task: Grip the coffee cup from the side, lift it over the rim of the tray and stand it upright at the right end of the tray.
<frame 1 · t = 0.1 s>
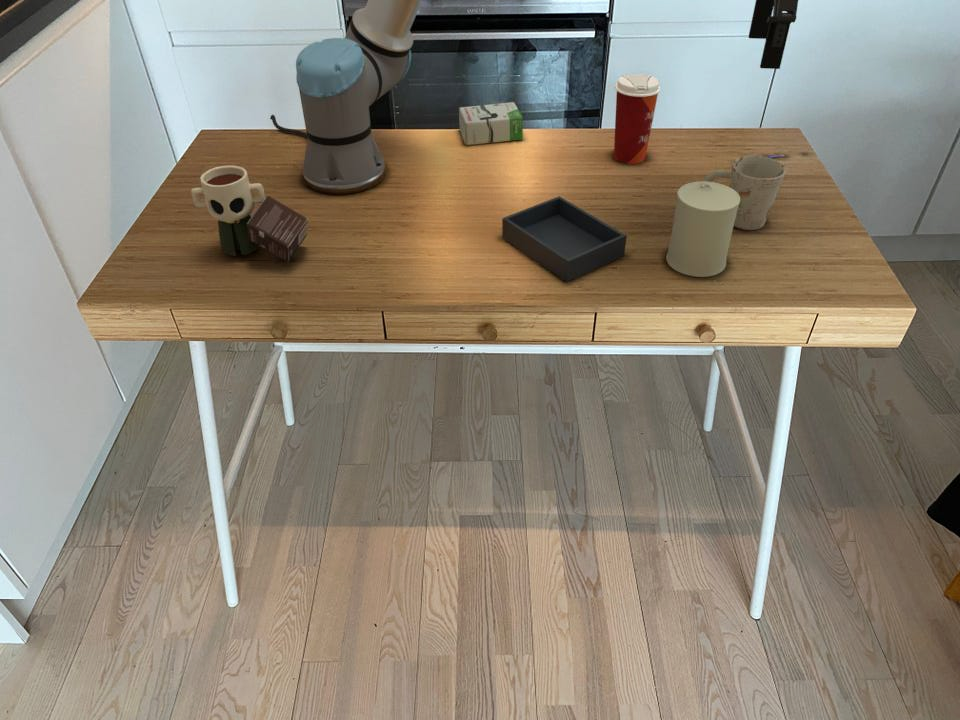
hand: (763, 52, 119), 26 cm above the table, tool pointing down, fingers open, 13 cm apart
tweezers: (777, 152, 149), point 1 cm above the table
ink box: (519, 120, 158), point 3 cm above the table
coffee cup: (629, 157, 151), on the table
box: (299, 241, 122), point 3 cm above the table, touching character mug
can: (695, 262, 122), on the table
character mug: (241, 249, 126), on the table, touching box
mug: (733, 220, 132), on the table
tray: (562, 247, 126), on the table
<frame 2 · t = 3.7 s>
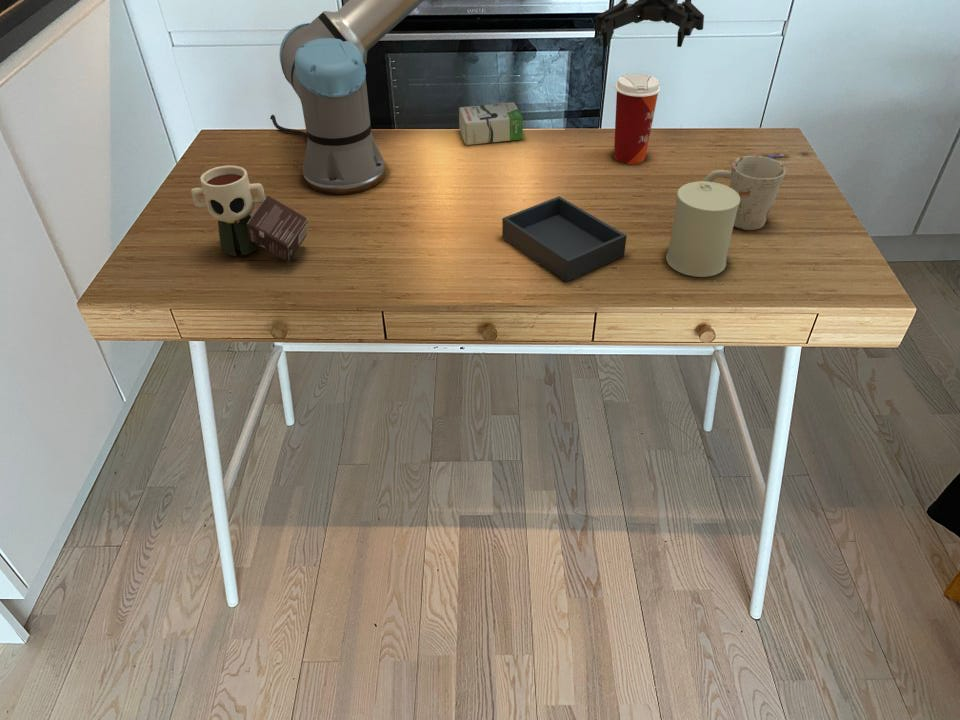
hand: (641, 39, 142), 20 cm above the table, tool horizontal, fingers open, 13 cm apart
nothing on the table moved.
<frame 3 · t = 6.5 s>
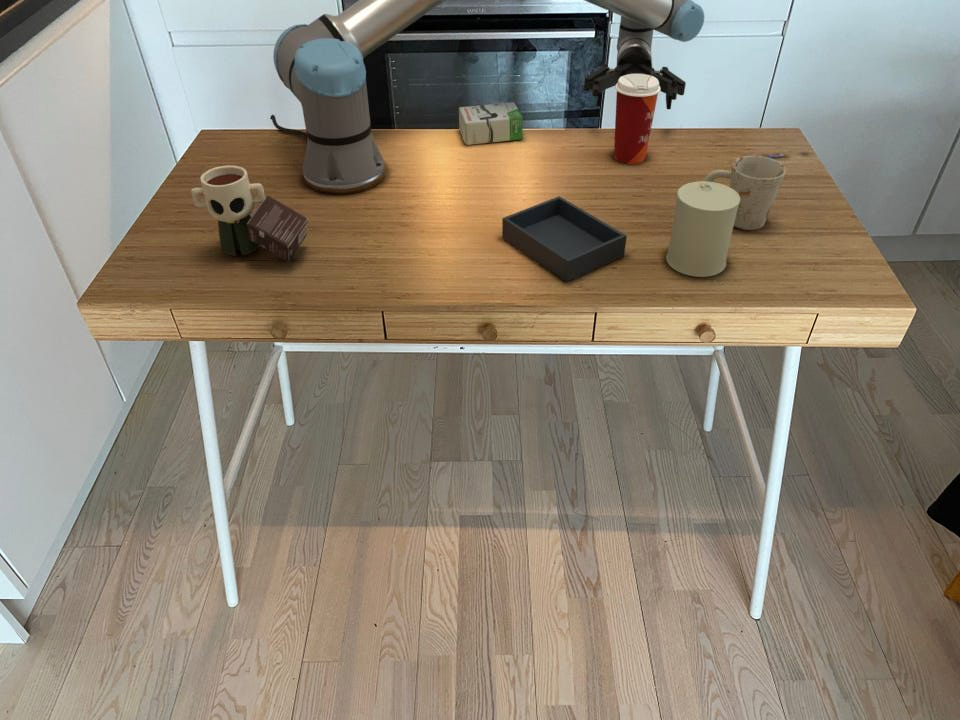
hand: (634, 101, 151), 8 cm above the table, tool horizontal, fingers open, 13 cm apart
nothing on the table moved.
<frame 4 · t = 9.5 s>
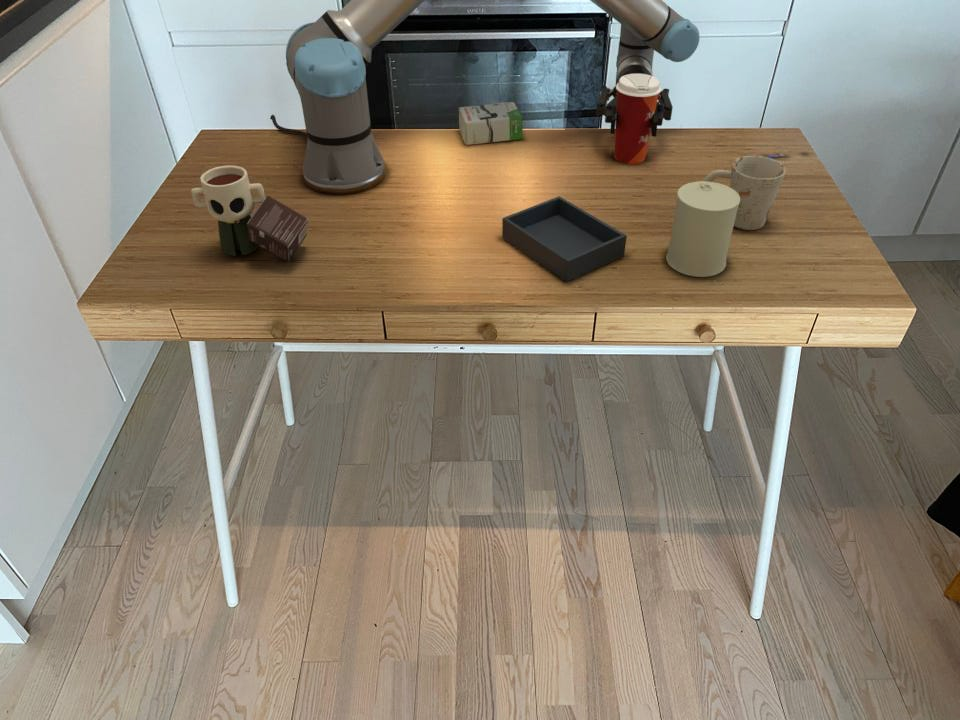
hand: (633, 128, 142), 8 cm above the table, tool horizontal, fingers closed on coffee cup, 7 cm apart
coffee cup: (629, 157, 151), on the table, touching gripper
everything else where it was.
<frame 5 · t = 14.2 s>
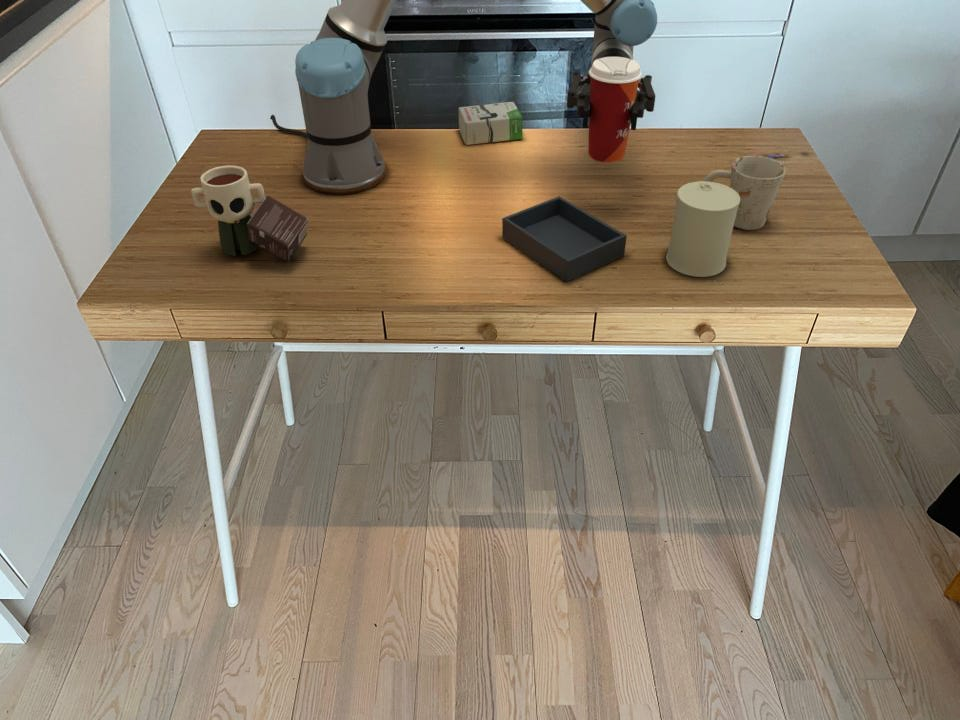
hand: (609, 120, 120), 18 cm above the table, tool horizontal, fingers closed on coffee cup, 7 cm apart
coffee cup: (605, 155, 130), point 10 cm above the table, touching gripper
everything else where it was.
when the fingers open (9 cm above the table, at t = 19.2 s): coffee cup stays where it is, resting on tray.
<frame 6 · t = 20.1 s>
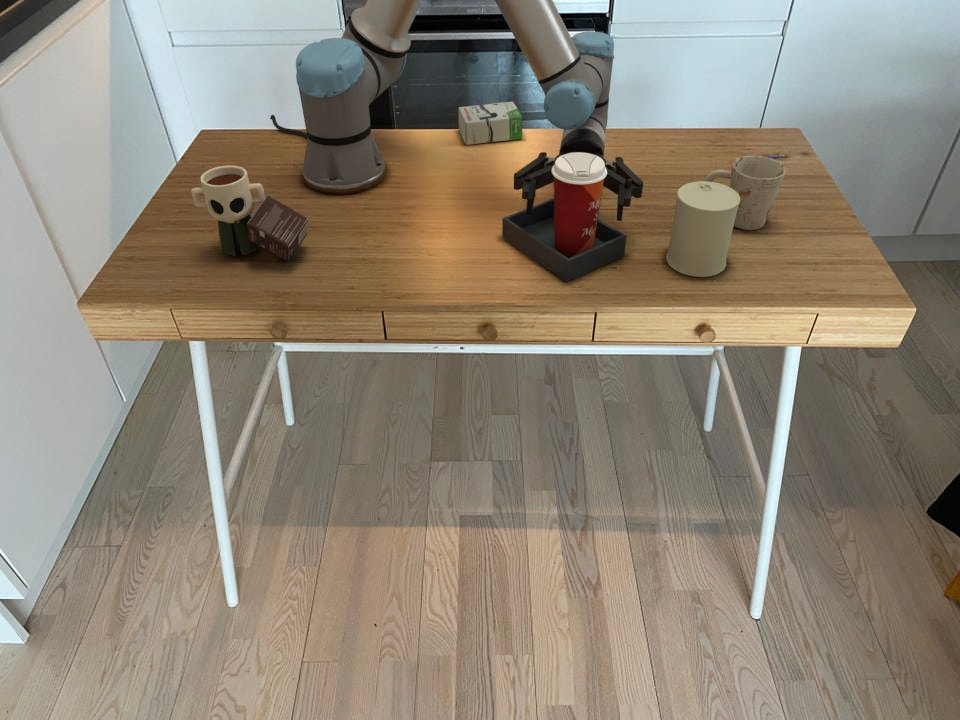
hand: (574, 210, 116), 10 cm above the table, tool horizontal, fingers open, 13 cm apart
coffee cup: (573, 250, 124), point 1 cm above the table, touching tray
everything else where it was.
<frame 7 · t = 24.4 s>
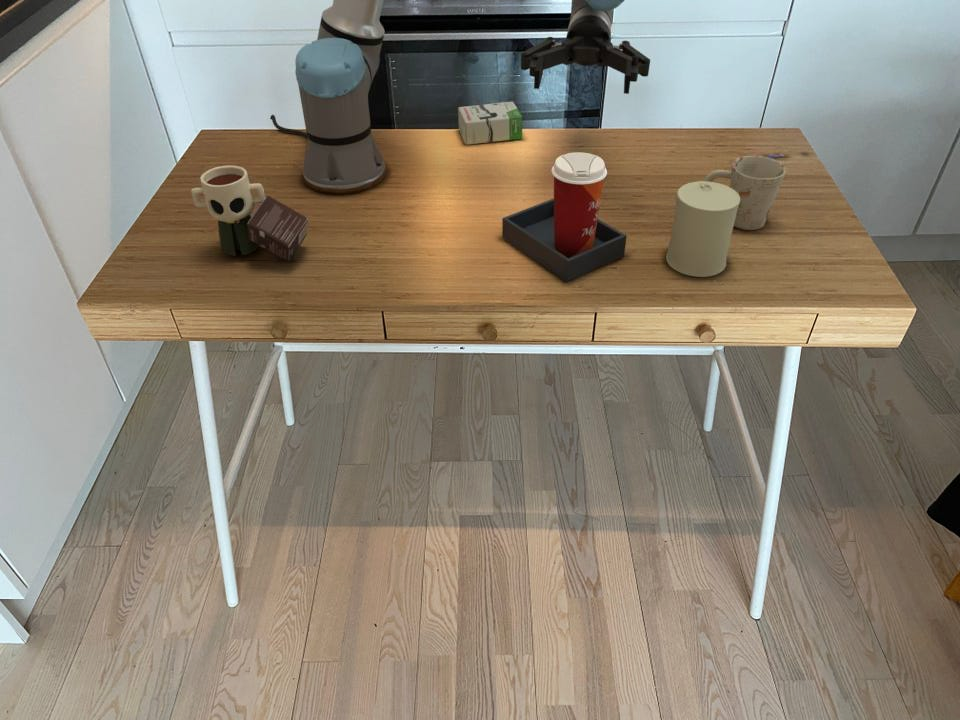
hand: (581, 82, 116), 24 cm above the table, tool horizontal, fingers open, 13 cm apart
nothing on the table moved.
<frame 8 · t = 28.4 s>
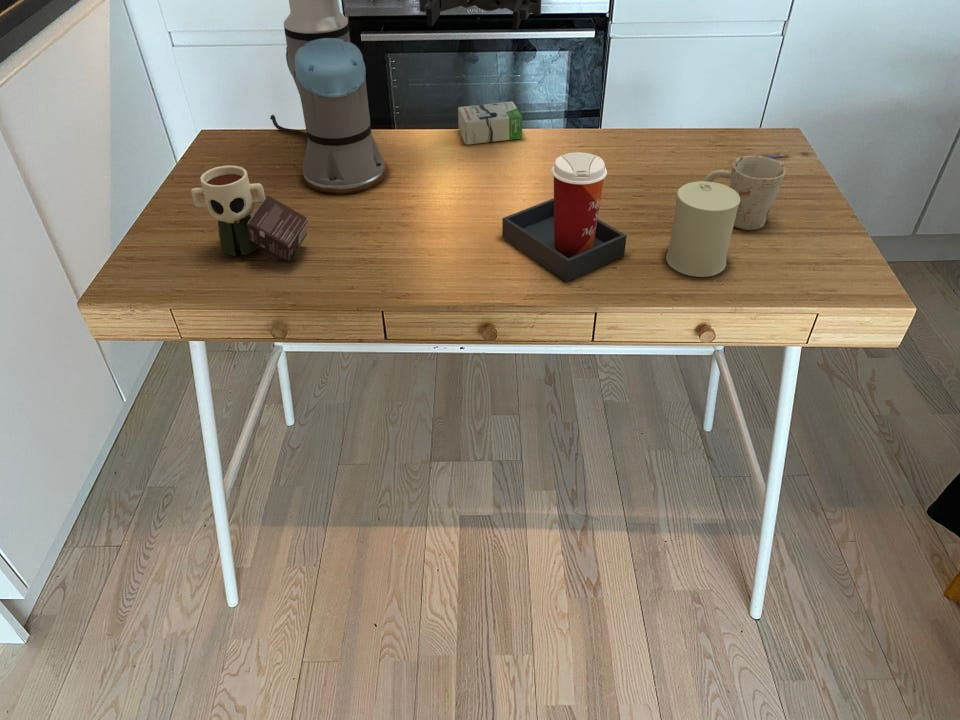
hand: (471, 19, 121), 30 cm above the table, tool horizontal, fingers open, 13 cm apart
nothing on the table moved.
at the end: coffee cup 0.6 cm from the target spot in the tray, point 0.6 cm above the tray's base; coffee cup tilted 0°; the gripper is holding nothing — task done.
